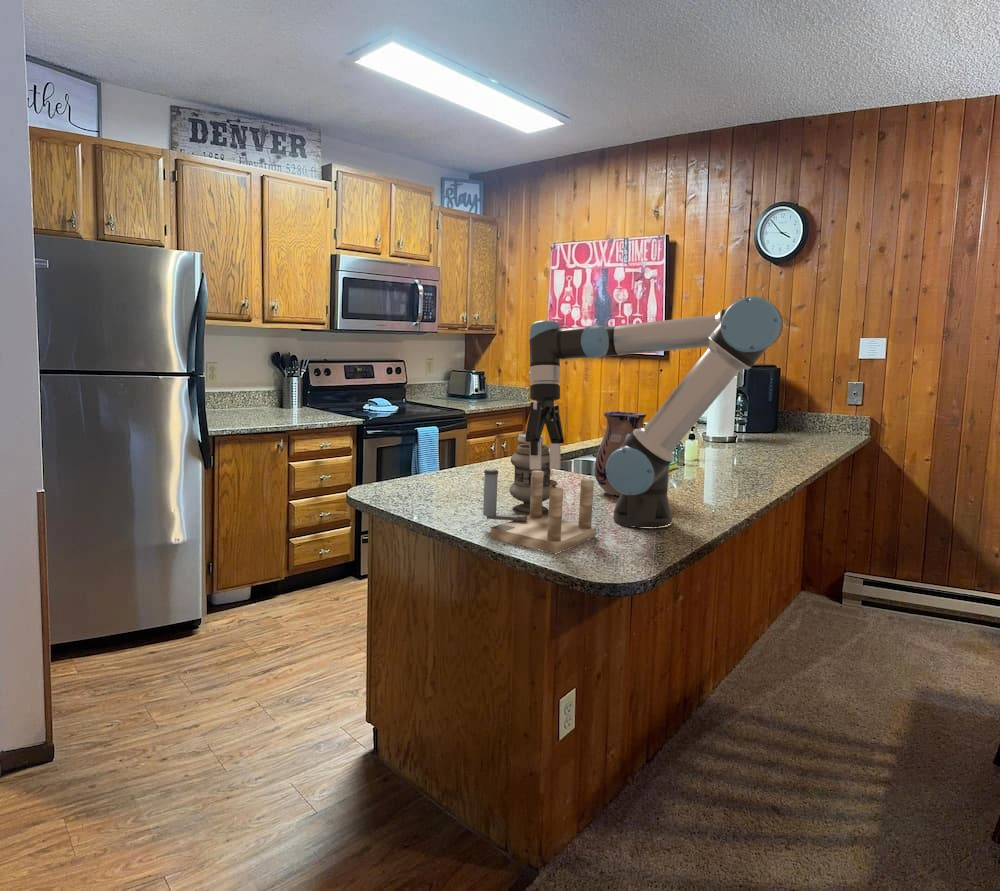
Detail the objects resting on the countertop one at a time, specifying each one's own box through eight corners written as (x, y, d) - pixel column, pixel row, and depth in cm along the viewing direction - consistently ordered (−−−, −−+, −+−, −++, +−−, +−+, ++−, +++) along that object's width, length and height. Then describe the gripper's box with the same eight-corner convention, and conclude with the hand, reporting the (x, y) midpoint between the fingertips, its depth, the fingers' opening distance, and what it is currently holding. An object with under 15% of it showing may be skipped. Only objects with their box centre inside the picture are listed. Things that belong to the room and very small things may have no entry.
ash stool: (595, 537, 170) (599, 480, 168) (556, 554, 156) (559, 491, 154) (532, 523, 180) (535, 469, 178) (490, 538, 166) (492, 479, 164)
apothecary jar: (501, 506, 197) (504, 442, 194) (540, 504, 201) (543, 441, 199) (519, 517, 186) (523, 449, 183) (560, 514, 190) (564, 448, 188)
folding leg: (527, 518, 174) (529, 471, 172) (526, 522, 171) (528, 474, 169) (483, 515, 175) (485, 468, 173) (481, 519, 172) (483, 471, 170)
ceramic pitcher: (613, 502, 207) (618, 417, 203) (576, 487, 226) (581, 409, 222) (662, 498, 214) (668, 416, 211) (623, 484, 233) (628, 408, 230)
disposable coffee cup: (548, 468, 256) (549, 436, 254) (530, 471, 249) (532, 438, 247) (528, 464, 262) (529, 432, 260) (510, 467, 255) (512, 434, 253)
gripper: (548, 389, 190) (549, 468, 189) (511, 379, 167) (511, 469, 167) (575, 388, 187) (576, 468, 186) (540, 377, 164) (541, 469, 163)
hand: (545, 469), depth 176 cm, fingers open, 13 cm apart
